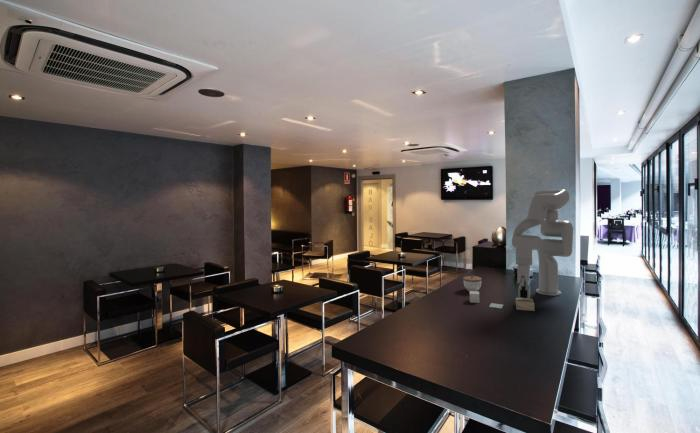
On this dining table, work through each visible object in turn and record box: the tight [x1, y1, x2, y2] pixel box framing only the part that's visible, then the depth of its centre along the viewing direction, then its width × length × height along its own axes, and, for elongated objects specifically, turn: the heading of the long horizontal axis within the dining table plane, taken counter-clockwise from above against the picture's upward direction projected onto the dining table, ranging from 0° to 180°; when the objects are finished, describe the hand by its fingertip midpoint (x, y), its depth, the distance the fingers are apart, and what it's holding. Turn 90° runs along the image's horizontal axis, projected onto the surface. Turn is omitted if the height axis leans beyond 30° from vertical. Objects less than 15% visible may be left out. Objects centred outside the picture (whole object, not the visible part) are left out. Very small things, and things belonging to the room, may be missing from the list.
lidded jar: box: [462, 275, 482, 292], centre depth 206 cm, size 11×11×9 cm
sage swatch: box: [488, 302, 504, 310], centre depth 176 cm, size 6×6×1 cm
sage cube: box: [517, 285, 531, 299], centre depth 171 cm, size 5×5×5 cm
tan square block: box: [515, 297, 535, 312], centre depth 172 cm, size 8×8×4 cm
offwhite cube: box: [469, 290, 480, 304], centre depth 185 cm, size 5×5×5 cm
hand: (524, 295), depth 171 cm, fingers closed on sage cube, 5 cm apart
